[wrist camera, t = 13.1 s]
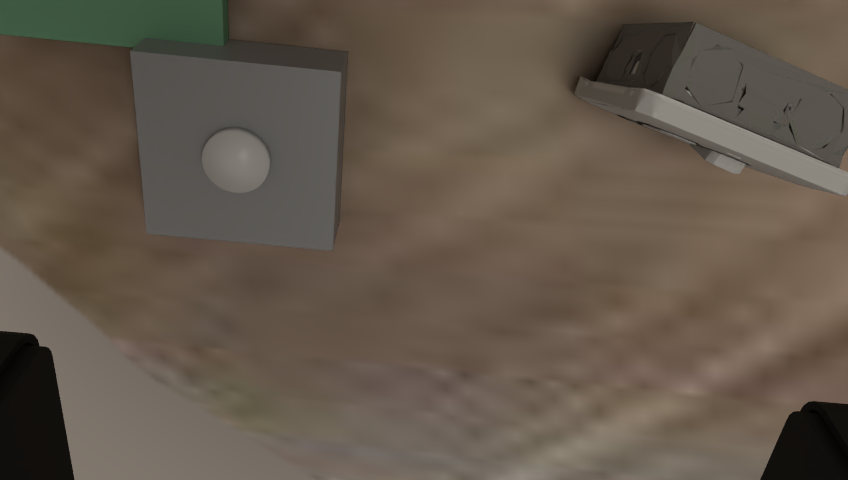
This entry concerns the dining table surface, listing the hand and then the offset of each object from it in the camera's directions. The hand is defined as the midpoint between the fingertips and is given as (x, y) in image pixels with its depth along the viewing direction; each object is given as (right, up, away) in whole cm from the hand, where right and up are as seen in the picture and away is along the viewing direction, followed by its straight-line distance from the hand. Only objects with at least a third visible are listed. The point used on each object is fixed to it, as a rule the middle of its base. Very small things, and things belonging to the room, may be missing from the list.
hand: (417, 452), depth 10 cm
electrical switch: (+12, +11, +27) cm, 31 cm away
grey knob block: (-8, +8, +28) cm, 30 cm away
